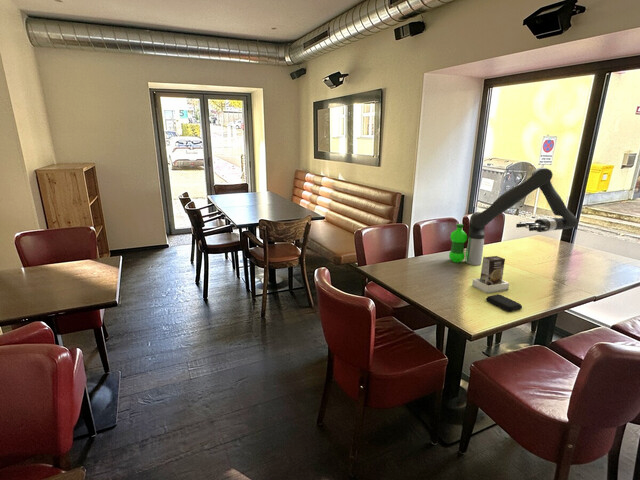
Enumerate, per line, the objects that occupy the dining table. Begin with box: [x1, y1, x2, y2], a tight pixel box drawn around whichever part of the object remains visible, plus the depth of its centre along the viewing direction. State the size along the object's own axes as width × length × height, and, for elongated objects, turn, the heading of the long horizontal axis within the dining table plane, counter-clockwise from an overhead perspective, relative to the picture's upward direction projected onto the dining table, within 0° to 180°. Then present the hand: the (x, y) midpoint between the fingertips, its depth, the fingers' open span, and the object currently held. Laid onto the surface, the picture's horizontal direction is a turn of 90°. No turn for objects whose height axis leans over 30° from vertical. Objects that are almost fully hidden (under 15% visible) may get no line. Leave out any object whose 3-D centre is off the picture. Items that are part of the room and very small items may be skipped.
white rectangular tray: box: [471, 277, 510, 294], centre depth 189 cm, size 11×14×4 cm
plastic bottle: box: [448, 223, 468, 263], centre depth 230 cm, size 10×10×25 cm
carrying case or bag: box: [485, 293, 523, 313], centre depth 170 cm, size 11×3×15 cm
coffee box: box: [479, 255, 506, 286], centre depth 187 cm, size 9×6×16 cm
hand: (523, 227), depth 197 cm, fingers open, 8 cm apart
